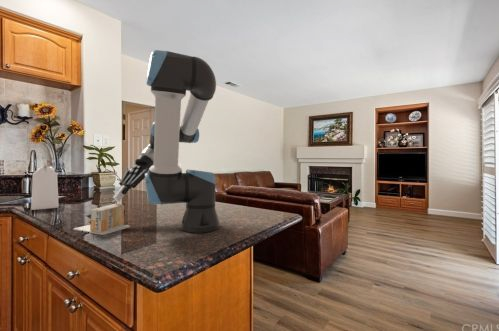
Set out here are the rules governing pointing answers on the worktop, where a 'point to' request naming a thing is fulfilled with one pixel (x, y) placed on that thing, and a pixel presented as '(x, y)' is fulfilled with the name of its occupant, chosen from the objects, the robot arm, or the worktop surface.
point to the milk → (44, 188)
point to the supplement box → (106, 217)
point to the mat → (117, 228)
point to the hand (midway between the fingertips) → (116, 199)
